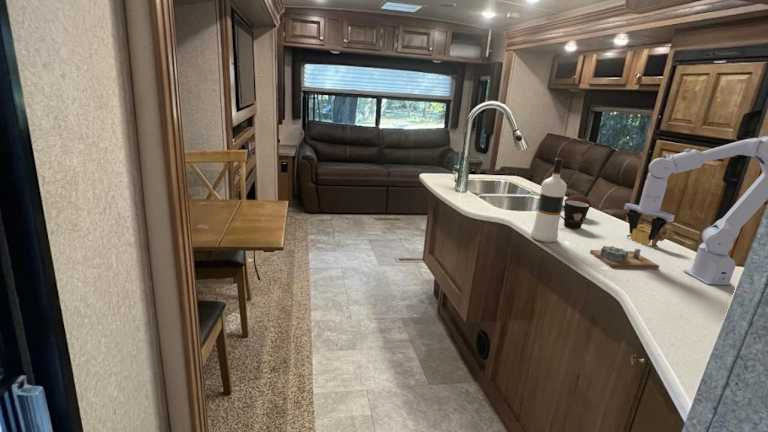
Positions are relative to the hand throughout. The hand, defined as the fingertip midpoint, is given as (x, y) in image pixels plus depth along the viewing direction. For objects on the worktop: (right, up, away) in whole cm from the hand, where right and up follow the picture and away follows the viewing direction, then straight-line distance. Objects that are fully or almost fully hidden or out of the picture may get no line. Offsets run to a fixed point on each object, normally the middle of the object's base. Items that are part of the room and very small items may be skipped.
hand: (641, 236), depth 132 cm
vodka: (-25, -2, +18) cm, 31 cm away
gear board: (-5, -8, +2) cm, 10 cm away
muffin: (+2, +6, +51) cm, 52 cm away
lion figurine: (+16, -4, +21) cm, 27 cm away
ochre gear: (0, -2, +1) cm, 2 cm away
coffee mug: (-7, +2, +37) cm, 37 cm away
